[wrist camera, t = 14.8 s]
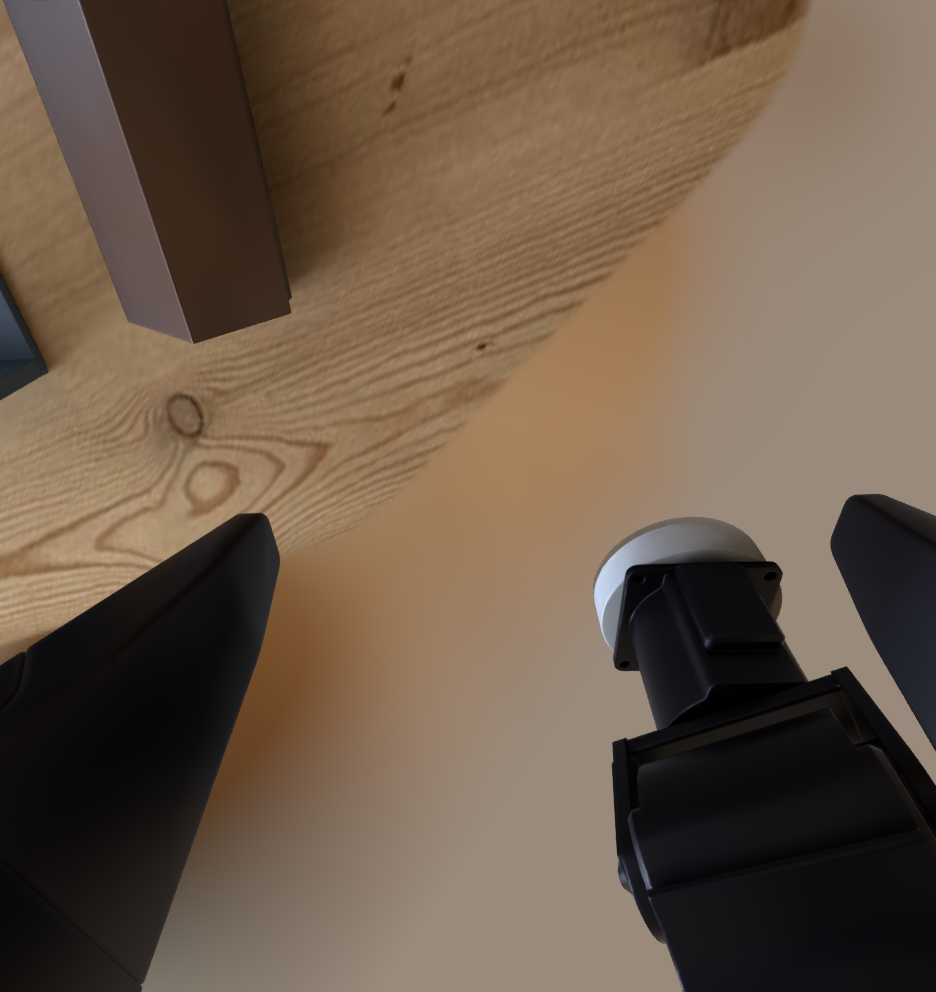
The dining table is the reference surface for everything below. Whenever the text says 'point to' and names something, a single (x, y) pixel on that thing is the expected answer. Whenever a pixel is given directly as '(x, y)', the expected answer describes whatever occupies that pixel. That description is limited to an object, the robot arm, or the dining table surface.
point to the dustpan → (16, 348)
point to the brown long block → (161, 157)
